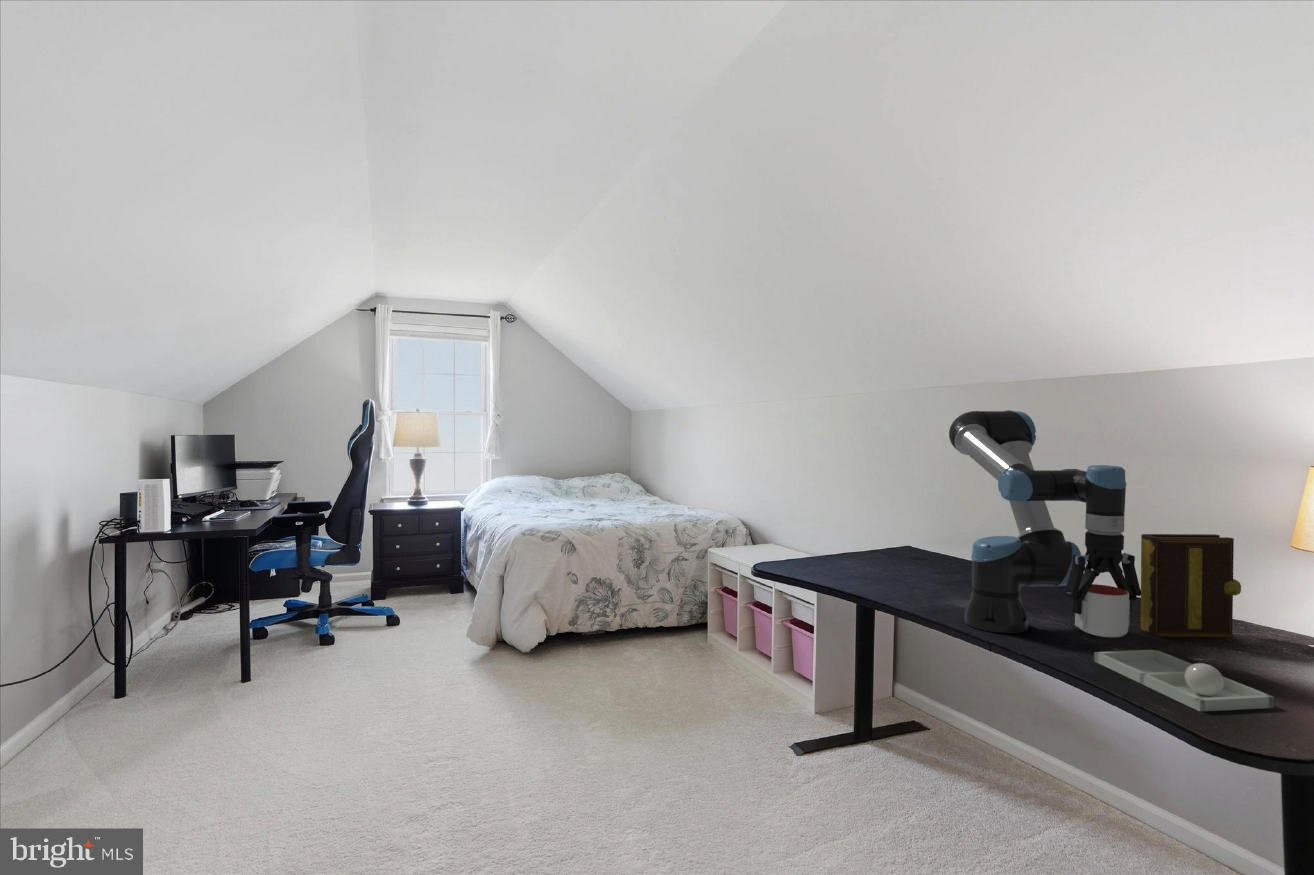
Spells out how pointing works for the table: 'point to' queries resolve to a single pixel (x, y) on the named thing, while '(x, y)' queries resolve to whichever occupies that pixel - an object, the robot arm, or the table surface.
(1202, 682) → the egg
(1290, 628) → the table surface
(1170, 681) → the holder
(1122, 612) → the cup
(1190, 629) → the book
